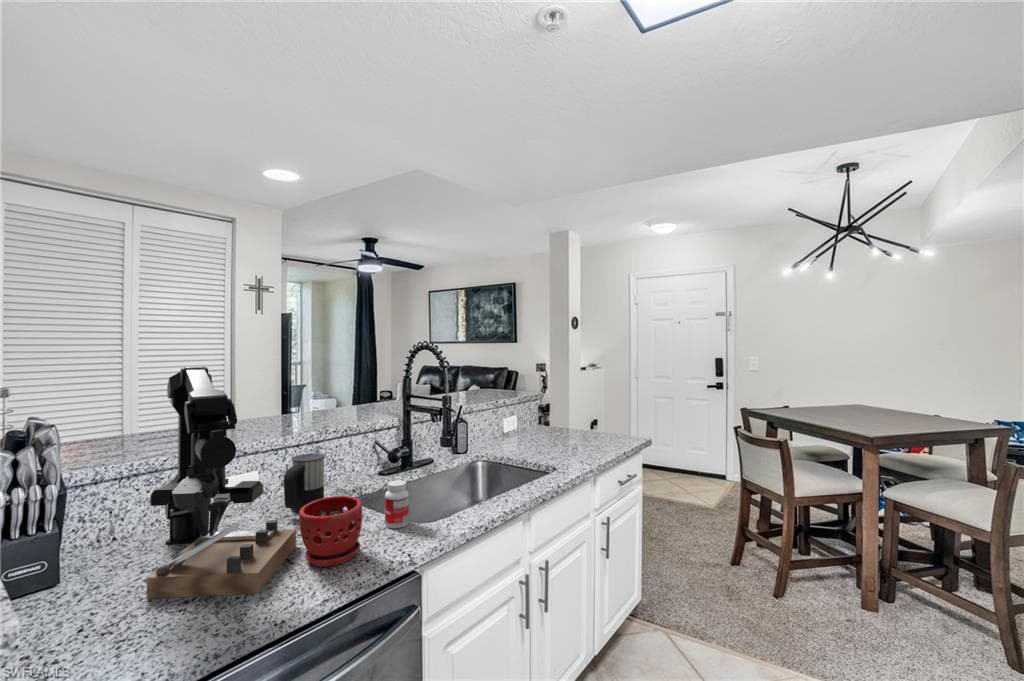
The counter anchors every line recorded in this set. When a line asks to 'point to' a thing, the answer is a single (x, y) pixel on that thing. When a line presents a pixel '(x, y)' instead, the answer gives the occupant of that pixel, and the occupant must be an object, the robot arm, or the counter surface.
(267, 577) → the block
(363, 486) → the counter surface
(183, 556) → the strap
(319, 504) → the plant pot
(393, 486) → the pill bottle
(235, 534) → the strap
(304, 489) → the milk frother
